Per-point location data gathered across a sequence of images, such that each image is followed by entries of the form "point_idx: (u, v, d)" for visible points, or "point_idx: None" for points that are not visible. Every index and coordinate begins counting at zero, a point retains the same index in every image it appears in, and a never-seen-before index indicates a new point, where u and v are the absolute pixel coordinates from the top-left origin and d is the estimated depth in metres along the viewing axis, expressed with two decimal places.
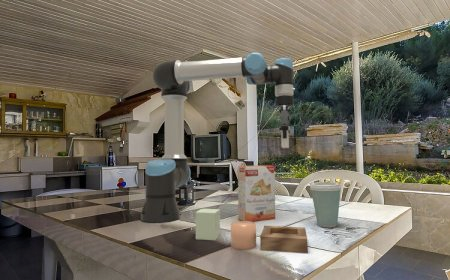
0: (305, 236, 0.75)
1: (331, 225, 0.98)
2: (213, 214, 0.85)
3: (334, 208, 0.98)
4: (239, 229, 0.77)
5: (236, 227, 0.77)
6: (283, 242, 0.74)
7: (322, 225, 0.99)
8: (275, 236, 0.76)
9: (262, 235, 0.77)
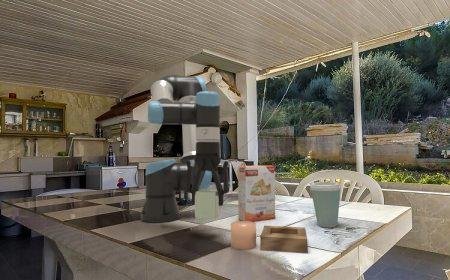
0: (305, 236, 0.75)
1: (331, 225, 0.98)
2: (213, 194, 0.86)
3: (334, 208, 0.98)
4: (239, 229, 0.77)
5: (236, 227, 0.77)
6: (283, 242, 0.74)
7: (322, 225, 0.99)
8: (275, 236, 0.76)
9: (262, 235, 0.77)
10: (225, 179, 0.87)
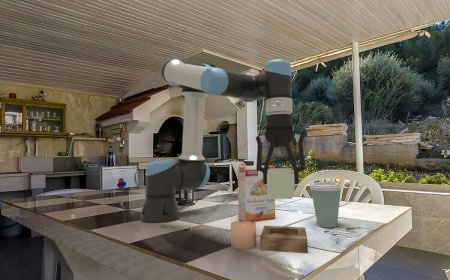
0: (305, 236, 0.75)
1: (331, 225, 0.98)
2: (289, 170, 0.78)
3: (334, 208, 0.98)
4: (239, 229, 0.77)
5: (236, 227, 0.77)
6: (283, 242, 0.74)
7: (322, 225, 0.99)
8: (275, 236, 0.76)
9: (262, 235, 0.77)
10: (302, 154, 0.79)
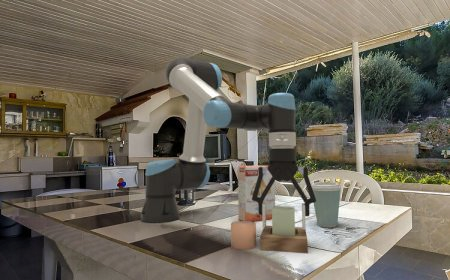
0: (305, 236, 0.75)
1: (331, 225, 0.98)
2: (292, 212, 0.77)
3: (334, 208, 0.98)
4: (239, 229, 0.77)
5: (236, 227, 0.77)
6: (283, 242, 0.74)
7: (322, 225, 0.99)
8: (275, 236, 0.76)
9: (262, 235, 0.77)
10: (309, 187, 0.78)
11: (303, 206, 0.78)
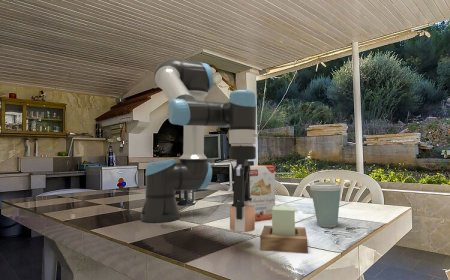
0: (305, 236, 0.75)
1: (331, 225, 0.98)
2: (292, 212, 0.77)
3: (334, 208, 0.98)
4: None
5: None
6: (283, 242, 0.74)
7: (322, 225, 0.99)
8: (275, 236, 0.76)
9: (262, 235, 0.77)
10: (249, 183, 0.87)
11: (248, 202, 0.84)
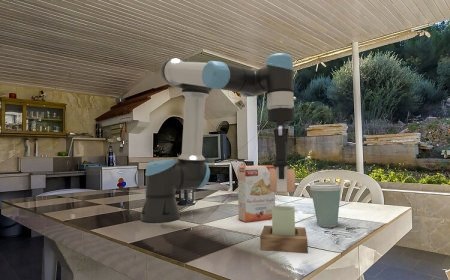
0: (305, 236, 0.75)
1: (331, 225, 0.98)
2: (292, 212, 0.77)
3: (334, 208, 0.98)
4: None
5: None
6: (283, 242, 0.74)
7: (322, 225, 0.99)
8: (275, 236, 0.76)
9: (262, 235, 0.77)
10: None
11: None
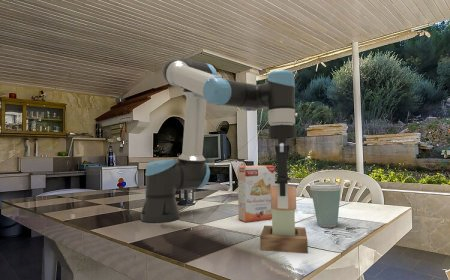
0: (305, 236, 0.75)
1: (331, 225, 0.98)
2: (292, 212, 0.77)
3: (334, 208, 0.98)
4: None
5: None
6: (283, 242, 0.74)
7: (322, 225, 0.99)
8: (275, 236, 0.76)
9: (262, 235, 0.77)
10: None
11: None
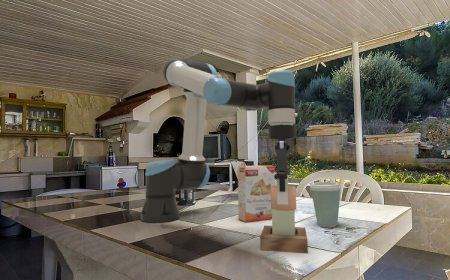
0: (305, 236, 0.75)
1: (331, 225, 0.98)
2: (292, 212, 0.77)
3: (334, 208, 0.98)
4: None
5: None
6: (283, 242, 0.74)
7: (322, 225, 0.99)
8: (275, 236, 0.76)
9: (262, 235, 0.77)
10: None
11: None
